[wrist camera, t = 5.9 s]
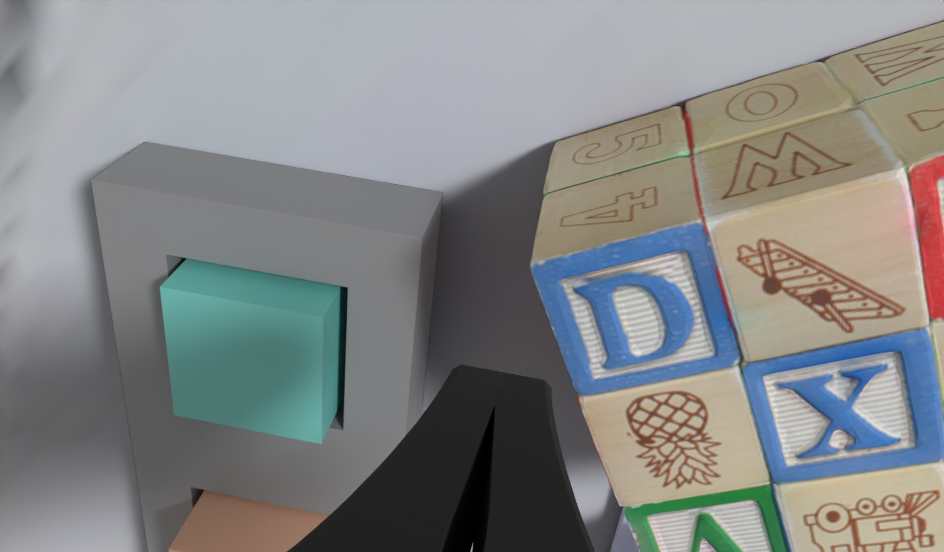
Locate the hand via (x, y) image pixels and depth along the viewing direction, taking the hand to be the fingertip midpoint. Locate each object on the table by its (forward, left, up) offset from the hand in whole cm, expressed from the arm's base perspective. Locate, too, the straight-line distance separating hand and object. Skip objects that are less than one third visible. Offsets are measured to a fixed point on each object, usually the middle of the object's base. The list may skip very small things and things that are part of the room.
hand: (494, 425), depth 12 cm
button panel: (-13, +7, -9) cm, 17 cm away
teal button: (-5, +7, -10) cm, 13 cm away
